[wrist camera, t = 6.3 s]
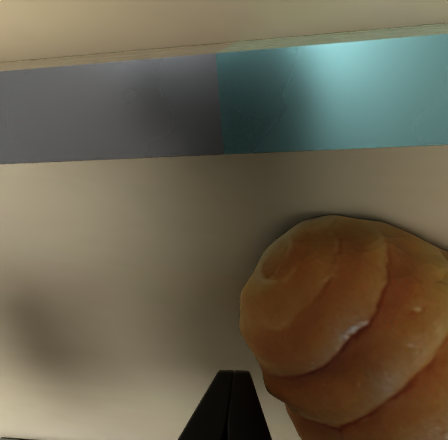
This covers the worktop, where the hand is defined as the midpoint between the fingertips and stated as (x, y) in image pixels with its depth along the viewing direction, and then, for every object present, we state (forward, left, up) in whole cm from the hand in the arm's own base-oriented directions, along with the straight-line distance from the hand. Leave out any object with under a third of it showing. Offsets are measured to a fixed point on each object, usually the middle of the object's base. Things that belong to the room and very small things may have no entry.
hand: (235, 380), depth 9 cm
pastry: (-1, -5, -2) cm, 5 cm away
